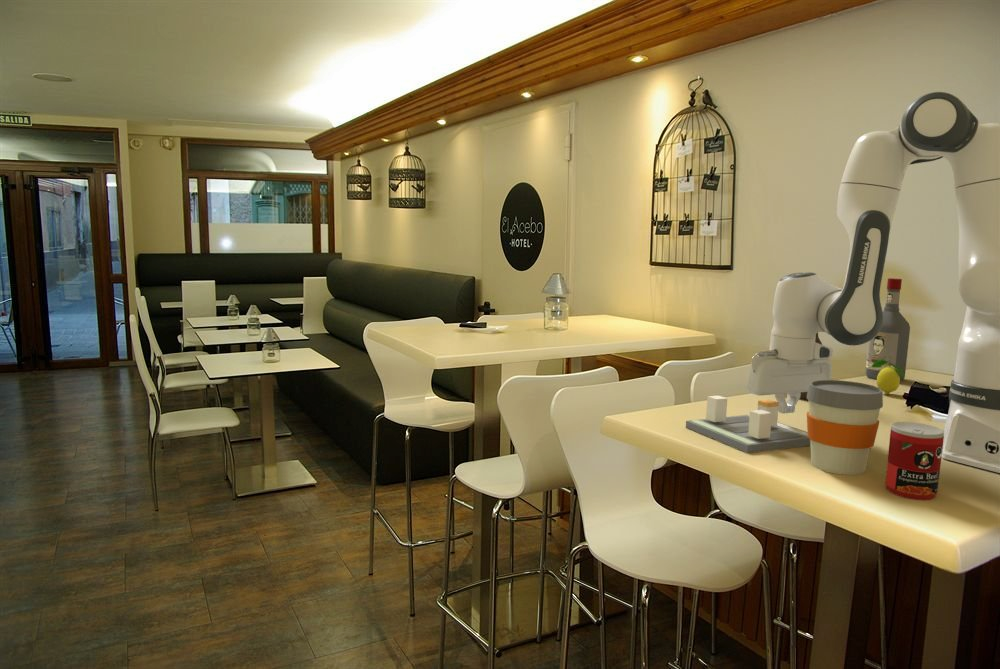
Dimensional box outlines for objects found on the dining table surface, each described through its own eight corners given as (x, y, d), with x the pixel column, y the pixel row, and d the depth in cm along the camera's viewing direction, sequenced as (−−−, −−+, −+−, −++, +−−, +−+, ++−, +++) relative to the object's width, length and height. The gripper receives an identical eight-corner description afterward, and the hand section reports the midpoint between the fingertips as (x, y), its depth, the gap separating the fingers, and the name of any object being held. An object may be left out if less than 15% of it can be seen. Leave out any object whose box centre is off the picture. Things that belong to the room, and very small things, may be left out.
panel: (820, 443, 148) (821, 436, 148) (747, 453, 140) (747, 445, 140) (754, 420, 165) (754, 413, 165) (685, 427, 158) (686, 420, 158)
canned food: (894, 498, 118) (901, 432, 116) (877, 482, 126) (883, 420, 124) (945, 502, 117) (953, 436, 115) (925, 485, 125) (932, 423, 123)
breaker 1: (725, 421, 156) (727, 398, 155) (714, 422, 155) (716, 399, 154) (717, 417, 159) (718, 395, 158) (706, 418, 158) (707, 396, 157)
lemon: (868, 391, 200) (872, 355, 199) (889, 391, 200) (892, 355, 199) (882, 396, 193) (886, 359, 192) (903, 397, 194) (907, 360, 192)
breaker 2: (769, 437, 144) (771, 412, 144) (758, 438, 143) (760, 414, 142) (759, 433, 147) (761, 409, 146) (748, 435, 146) (749, 410, 145)
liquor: (879, 374, 225) (889, 277, 221) (908, 380, 217) (919, 279, 213) (861, 376, 221) (870, 277, 216) (889, 382, 213) (900, 280, 208)
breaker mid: (776, 425, 153) (778, 402, 153) (765, 426, 152) (767, 403, 152) (767, 422, 156) (769, 399, 155) (756, 423, 155) (758, 400, 154)
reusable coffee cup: (856, 457, 140) (864, 380, 138) (889, 479, 127) (898, 395, 125) (790, 455, 140) (797, 378, 138) (817, 476, 128) (824, 393, 125)
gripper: (764, 353, 147) (758, 420, 149) (839, 349, 155) (832, 412, 157) (742, 348, 153) (737, 412, 155) (815, 344, 161) (810, 405, 163)
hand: (786, 412), depth 156 cm, fingers closed
